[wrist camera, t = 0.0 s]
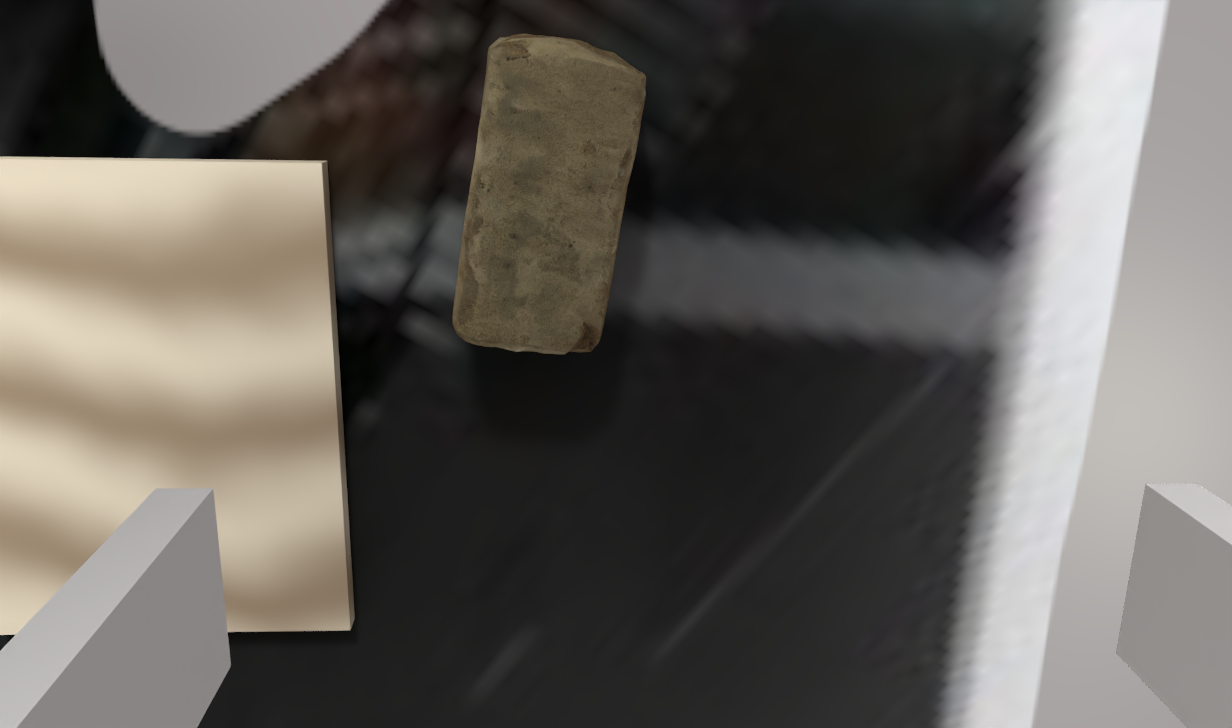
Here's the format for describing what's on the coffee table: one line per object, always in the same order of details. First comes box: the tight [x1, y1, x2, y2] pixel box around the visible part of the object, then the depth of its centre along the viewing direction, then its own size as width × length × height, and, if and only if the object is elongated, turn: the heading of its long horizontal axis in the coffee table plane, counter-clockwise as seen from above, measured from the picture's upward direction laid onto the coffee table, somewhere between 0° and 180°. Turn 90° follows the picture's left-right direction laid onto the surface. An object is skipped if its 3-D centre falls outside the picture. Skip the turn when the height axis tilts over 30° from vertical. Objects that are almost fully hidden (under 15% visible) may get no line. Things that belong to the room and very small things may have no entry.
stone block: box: [453, 34, 646, 354], centre depth 38 cm, size 6×12×5 cm, turn 171°
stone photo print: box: [0, 157, 355, 635], centre depth 42 cm, size 20×15×1 cm
